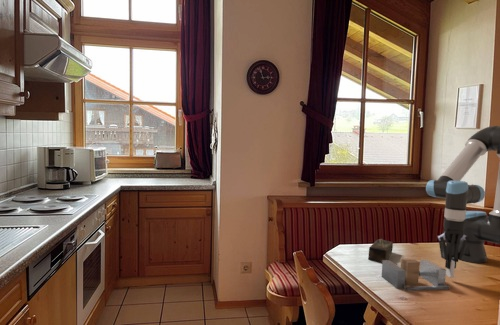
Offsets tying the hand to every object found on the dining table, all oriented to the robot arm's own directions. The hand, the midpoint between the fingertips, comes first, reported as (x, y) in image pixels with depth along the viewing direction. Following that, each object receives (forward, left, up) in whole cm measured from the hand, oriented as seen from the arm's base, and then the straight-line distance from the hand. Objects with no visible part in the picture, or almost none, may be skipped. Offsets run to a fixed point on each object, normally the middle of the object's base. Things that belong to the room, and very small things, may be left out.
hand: (449, 276), depth 153 cm
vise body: (+16, 0, -2) cm, 16 cm away
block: (+18, 0, -2) cm, 18 cm away
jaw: (+8, 0, -2) cm, 8 cm away
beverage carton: (+14, -31, -3) cm, 34 cm away
